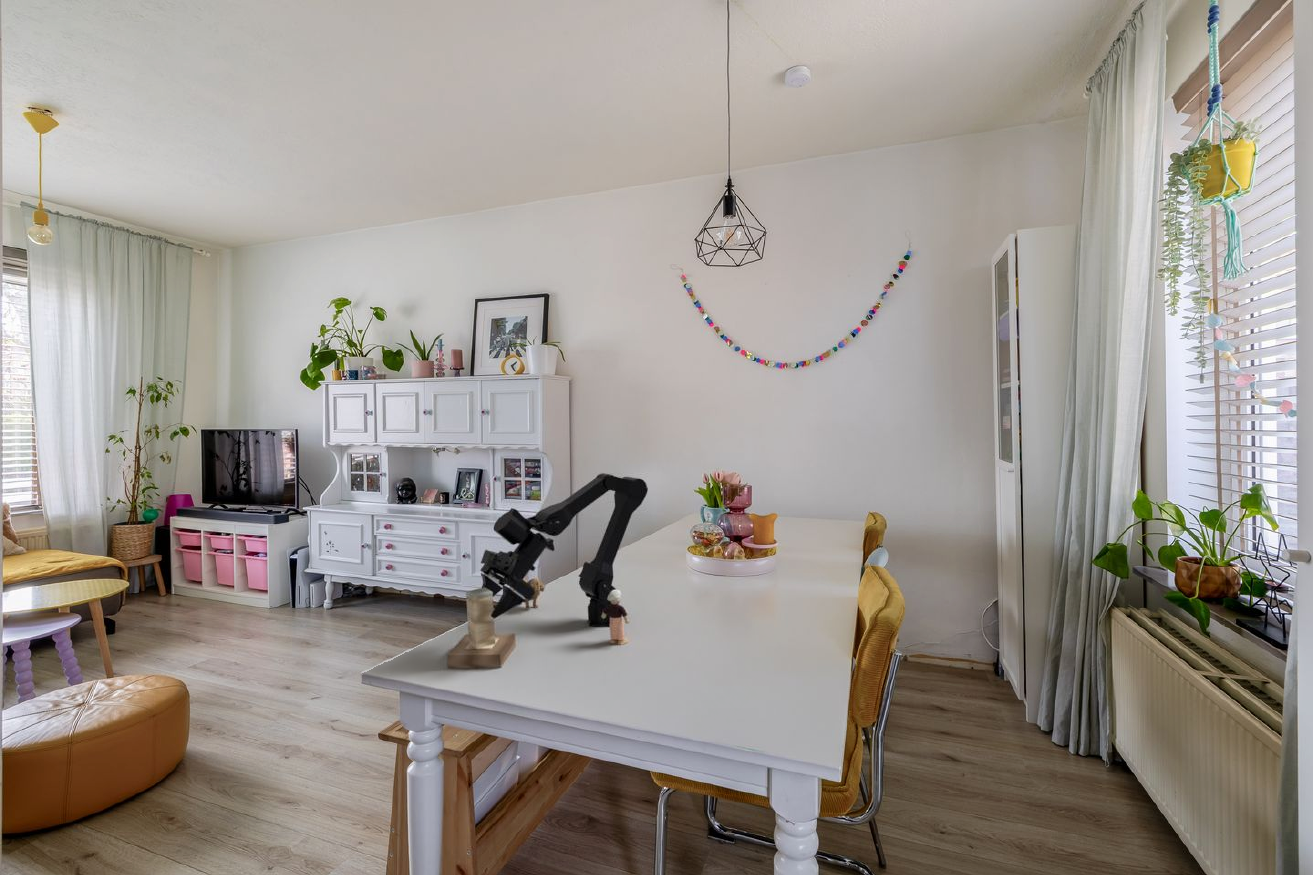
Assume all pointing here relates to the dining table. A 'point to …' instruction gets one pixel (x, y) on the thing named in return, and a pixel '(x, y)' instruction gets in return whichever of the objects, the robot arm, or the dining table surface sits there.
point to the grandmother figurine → (616, 617)
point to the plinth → (481, 653)
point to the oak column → (480, 617)
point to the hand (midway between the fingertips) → (484, 612)
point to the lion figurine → (537, 587)
